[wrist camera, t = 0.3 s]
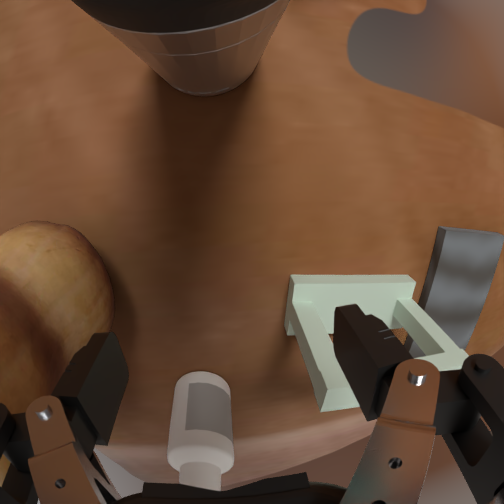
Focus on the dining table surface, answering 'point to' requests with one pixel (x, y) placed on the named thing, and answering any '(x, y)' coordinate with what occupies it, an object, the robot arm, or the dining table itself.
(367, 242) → the dining table surface
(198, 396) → the spray bottle
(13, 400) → the butternut squash
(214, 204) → the dining table surface
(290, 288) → the stand
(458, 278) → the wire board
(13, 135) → the dining table surface
